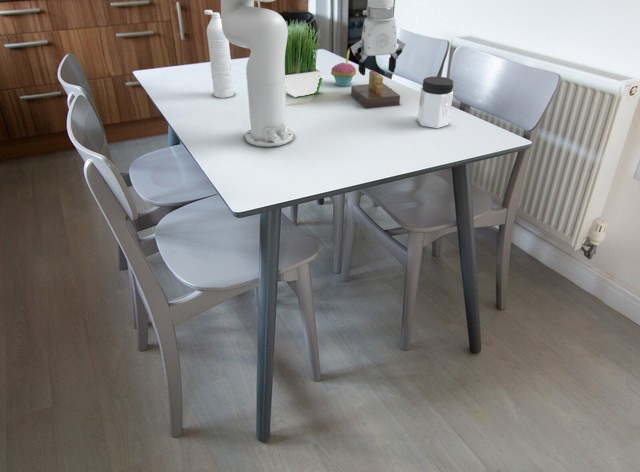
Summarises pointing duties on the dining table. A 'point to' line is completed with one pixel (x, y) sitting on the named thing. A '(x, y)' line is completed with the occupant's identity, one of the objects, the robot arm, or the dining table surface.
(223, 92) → the water bottle
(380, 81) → the tap handle
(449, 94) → the jar
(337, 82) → the cupcake
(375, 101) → the plate
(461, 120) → the dining table surface
